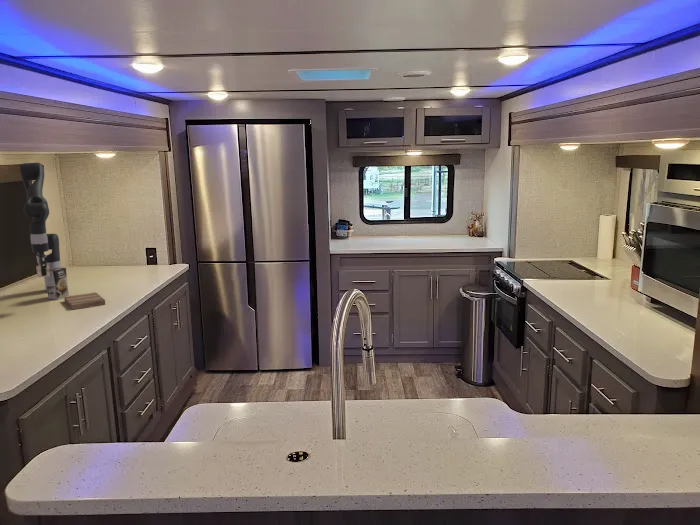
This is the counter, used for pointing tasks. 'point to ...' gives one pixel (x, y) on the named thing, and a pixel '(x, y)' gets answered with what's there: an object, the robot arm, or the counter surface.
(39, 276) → the maple cube
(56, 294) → the coffee box
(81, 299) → the walnut base
